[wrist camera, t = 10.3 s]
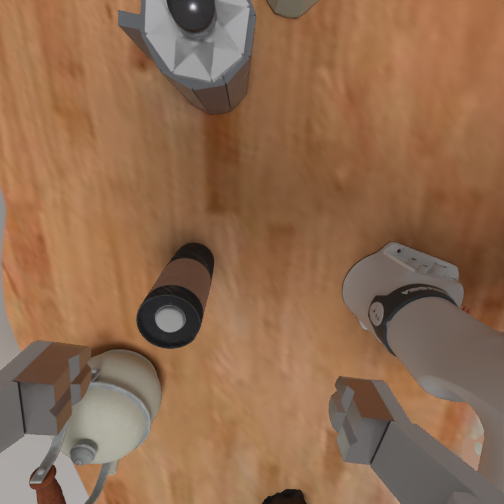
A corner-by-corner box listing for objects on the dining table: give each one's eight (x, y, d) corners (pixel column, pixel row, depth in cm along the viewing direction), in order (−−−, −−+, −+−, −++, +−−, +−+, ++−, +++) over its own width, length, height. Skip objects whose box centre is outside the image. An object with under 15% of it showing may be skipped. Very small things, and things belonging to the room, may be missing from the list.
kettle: (70, 332, 55) (-58, 465, 31) (163, 331, 56) (107, 460, 32) (91, 424, 63) (3, 584, 39) (172, 422, 64) (133, 578, 40)
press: (253, 43, 40) (264, -43, 23) (242, 121, 43) (244, 98, 26) (163, 23, 39) (101, -84, 22) (158, 105, 42) (102, 70, 25)
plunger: (225, 43, 33) (216, -26, 20) (221, 77, 34) (211, 32, 21) (195, 37, 32) (167, -38, 20) (192, 71, 34) (164, 22, 21)
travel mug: (167, 249, 50) (122, 306, 31) (206, 235, 49) (185, 284, 30) (184, 285, 52) (152, 357, 33) (221, 272, 52) (211, 338, 33)
